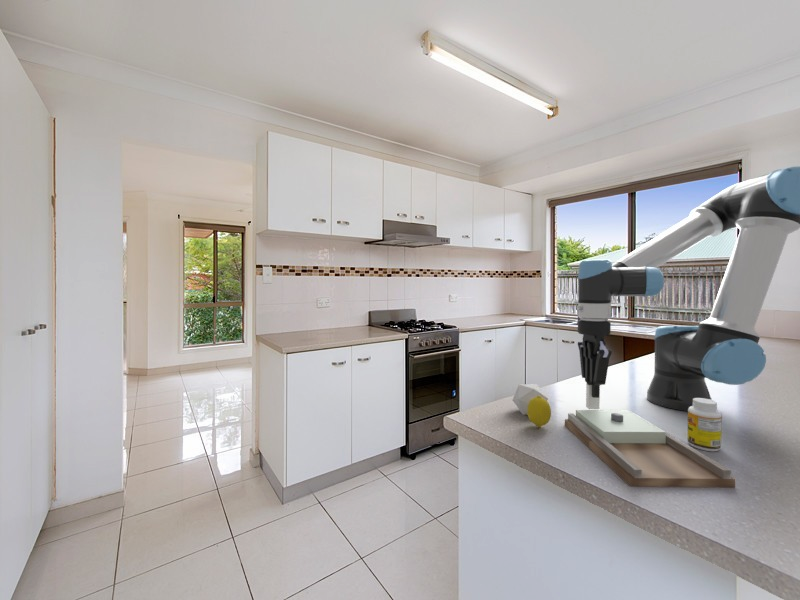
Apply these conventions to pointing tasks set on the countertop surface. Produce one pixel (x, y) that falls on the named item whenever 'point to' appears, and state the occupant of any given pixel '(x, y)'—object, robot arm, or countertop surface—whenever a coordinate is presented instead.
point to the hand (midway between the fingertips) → (592, 408)
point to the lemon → (539, 411)
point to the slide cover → (621, 426)
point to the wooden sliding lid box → (654, 461)
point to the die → (526, 396)
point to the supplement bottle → (704, 425)
